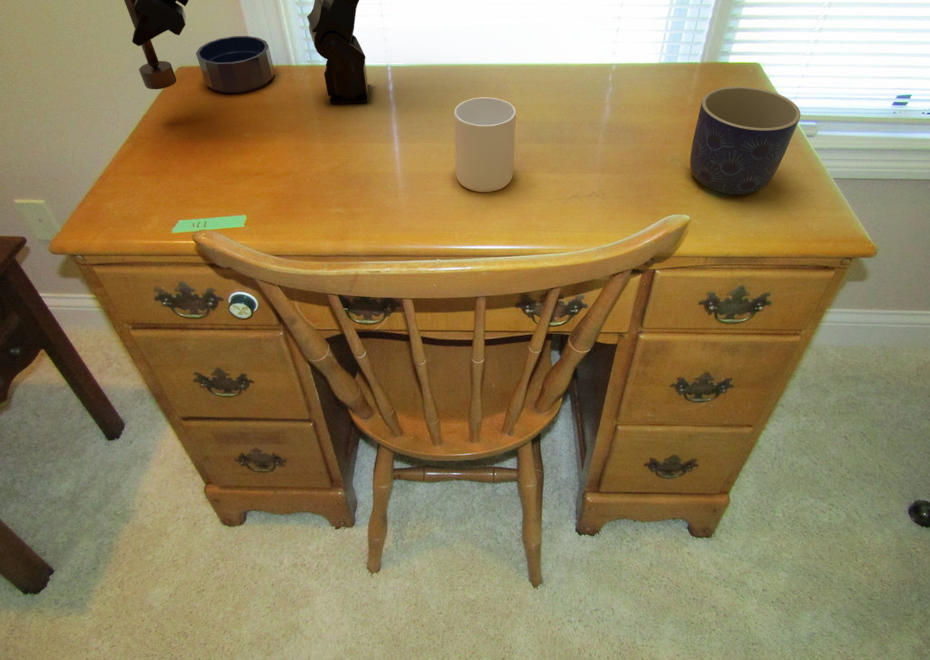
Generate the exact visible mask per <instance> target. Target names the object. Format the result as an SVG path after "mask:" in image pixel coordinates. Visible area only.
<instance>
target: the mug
mask: <svg viewBox="0 0 930 660" xmlns="http://www.w3.org/2000/svg"><path fill="white" fill-rule="evenodd" d="M453 116H454V117H453V118H454V119H453V120H454V156H455V157H454V158H455V174H456V179H457V181H458V183H459V184H460V185H461V186H463V187H464V188H466V189H468V190H470V191H473V192H477V193H479V192H480V193H490V192H496V191H499V190H501V189H504V188H505V187H506V186H507V185H509V184H510V182H511V181H512V179H513V176H514V163H515V161H514V160H515V143H516V142H515V140H516V121H517V120H516V118H517V111H516V108H515V106H514V105H513V104H512V103H510V102H509V101H508V100H507V101H506V100H505V99H501V98H497V97H487V96H485V97H481V96H480V97H473V98H470V99H467V100H464V101H462V102H460V103H458V104H457V105H456V107H455V108H454V111H453Z"/></svg>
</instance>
